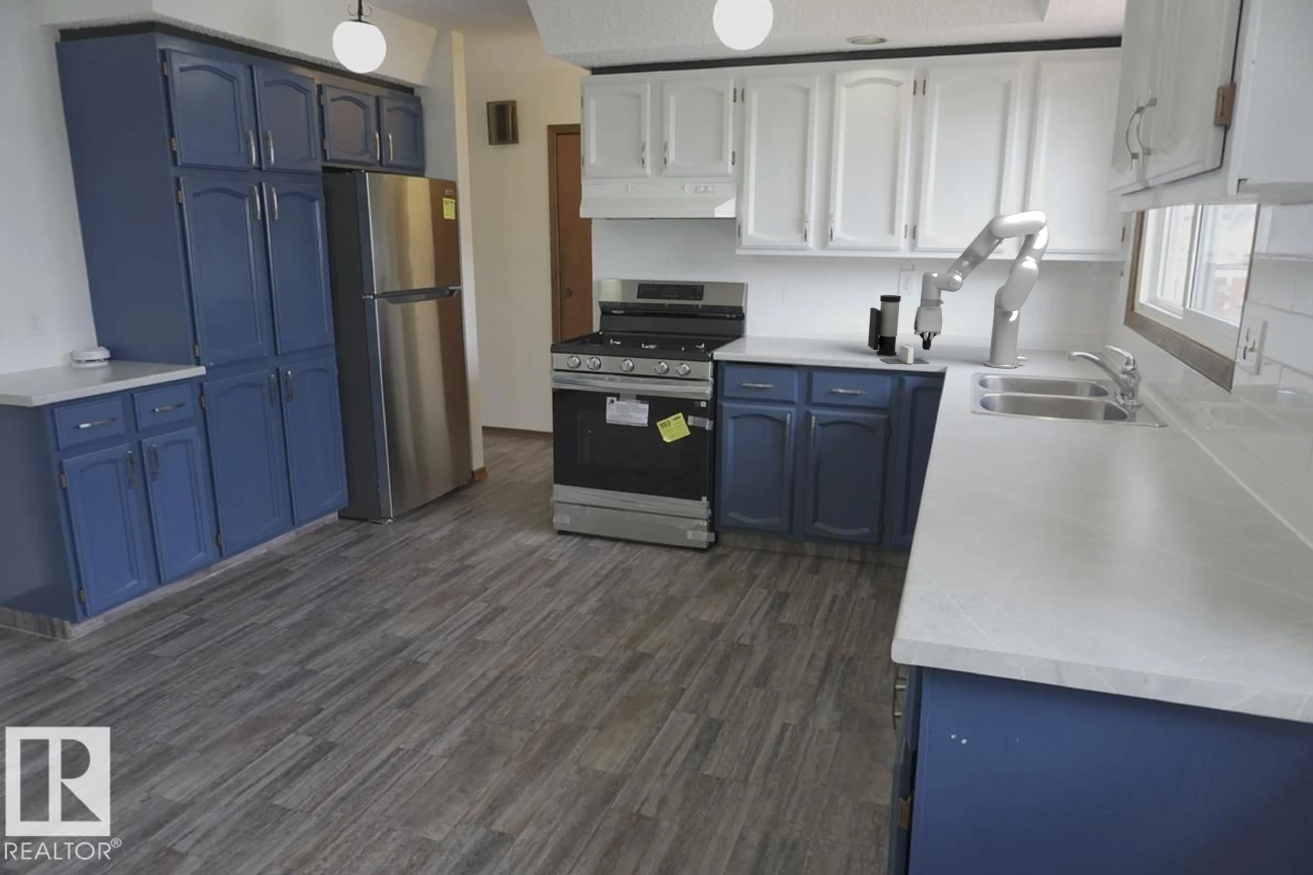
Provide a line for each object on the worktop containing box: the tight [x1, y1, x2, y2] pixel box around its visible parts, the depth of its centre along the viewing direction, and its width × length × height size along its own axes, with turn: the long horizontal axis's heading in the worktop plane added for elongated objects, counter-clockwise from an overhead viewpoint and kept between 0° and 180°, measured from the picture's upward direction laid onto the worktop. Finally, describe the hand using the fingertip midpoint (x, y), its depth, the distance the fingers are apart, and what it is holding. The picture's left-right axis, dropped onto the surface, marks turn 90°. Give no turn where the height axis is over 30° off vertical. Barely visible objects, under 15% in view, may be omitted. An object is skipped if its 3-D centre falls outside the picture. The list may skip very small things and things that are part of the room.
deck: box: [898, 344, 916, 363], centre depth 350 cm, size 2×9×6 cm, turn 5°
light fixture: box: [867, 294, 902, 357], centre depth 368 cm, size 12×11×25 cm
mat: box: [879, 358, 930, 365], centre depth 353 cm, size 17×10×1 cm, turn 95°
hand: (926, 349), depth 350 cm, fingers closed
